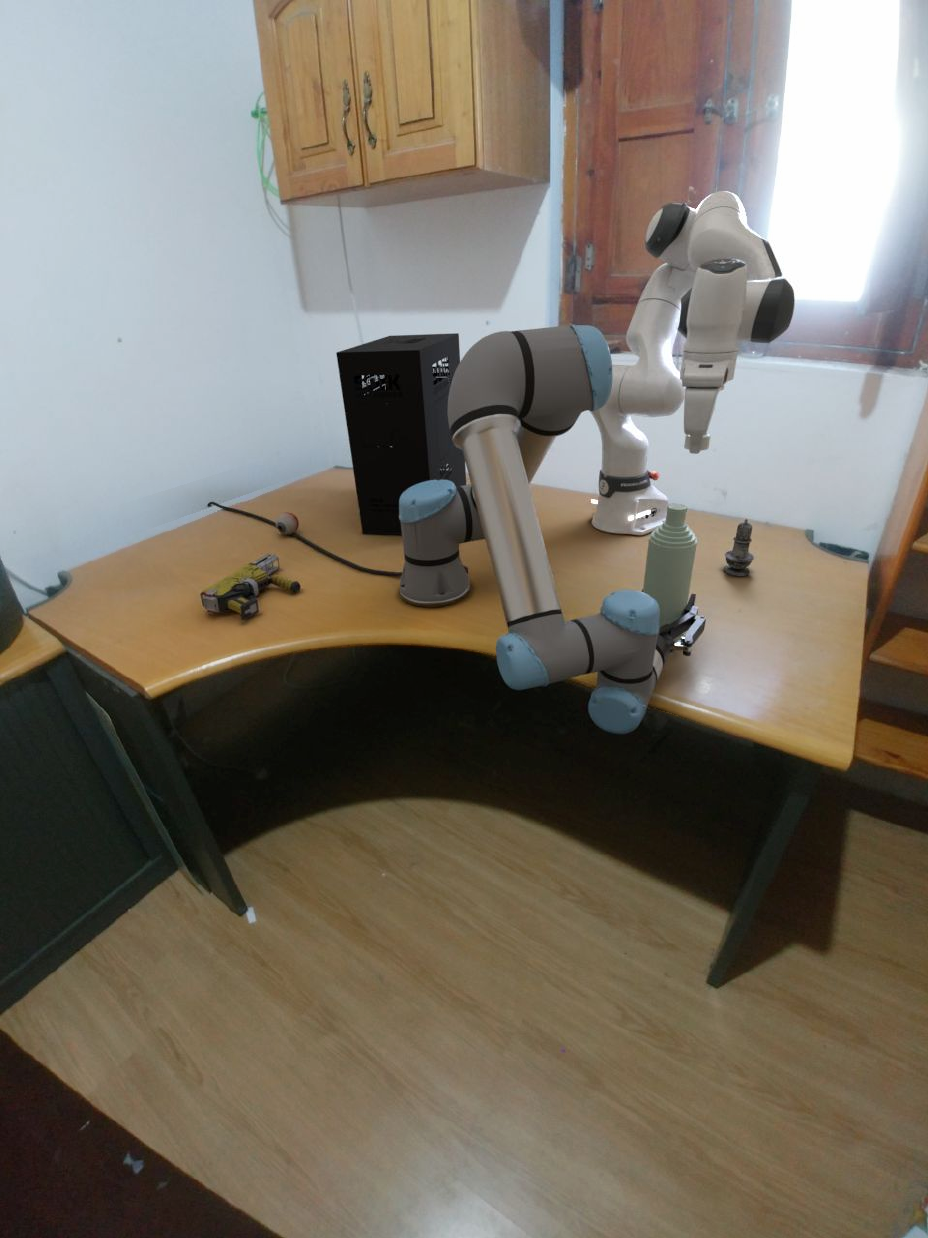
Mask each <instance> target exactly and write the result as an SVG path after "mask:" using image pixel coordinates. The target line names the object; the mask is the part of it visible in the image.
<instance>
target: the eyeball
mask: <svg viewBox="0 0 928 1238" xmlns="http://www.w3.org/2000/svg"><path fill="white" fill-rule="evenodd" d="M275 523H276V526H275V527H276V529H277V530H278V531H279V532H280V533H281V534H282V535H285V536H286V535H287V536H289V535H292V533H294V532H295V533H296V532H297V531H298V529H299V525H300V522H299V519H298V517H297V516H296V515H295V514H294V513H292V512H287V511H286V512H282V513H280V514H279V515H278V516H277V517H276V520H275Z"/></svg>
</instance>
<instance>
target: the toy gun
mask: <svg viewBox="0 0 928 1238" xmlns="http://www.w3.org/2000/svg"><path fill="white" fill-rule="evenodd" d="M275 562H277V564H278V565H277V566H276V565H274V563H275ZM280 568H281V567H280V558H279V556H278V555H277V554H272V553H270V552H269V553H267V554H265V555H263V556H261V557H260V558H258V559H257V560H255V561H253V562H250V563H248V564H246V565H244V566H243V567H240V568H239V569H238V570H236V571H234V572H233V573H231V574H229V575H228V576H226V577H223V579H221V580H218V581H217V582H216V583H214V584H212V585H210V586H209V587H207V588H205V589H204V590H202V591H201V592H200V594H199V595H200V599H201V604H202V607H203V608H204V610H206V612H207V613H211V614H212V615H213V614H214V615H215V614H216V613H220V614H222V613H228V612H231V611H234V612H237V613H239V614H240V615H241V620H243V621H245V620H247V619H249V618H251V617H252V616H254V615H257V614H259V612H260V609H259V602H258V599H257V597H258V596H259V594H260V592H259V591H261V590H263V589H265V588H267V587H269V586H270V585H274V586H277V587H278V588H282V589H285V590H286V591H290V592H292V593H294V594H295V593H298V592H299V591H300V590H301V584H300V582H299V581H297V580H292V579H288V578H287V577H284V576H280V575H279V574H274V573H275V572H276V571H277V570H279V569H280ZM271 574H274V575H273V576H271V577H270V576H269V575H271Z"/></svg>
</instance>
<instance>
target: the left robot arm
mask: <svg viewBox="0 0 928 1238" xmlns="http://www.w3.org/2000/svg"><path fill="white" fill-rule="evenodd" d="M612 365H613V361H612V355H611V350H610V348H609V344H608V342H607V340H606V338H605V336H604V334H603V333H602V332H601V331H600V330H599V329H598V328H597V327H595V326H593V325H589V324H585V325H583V324H581V325H579V324H576V325H575V324H573V323H572V324H568V325H559V326H550V327H549V326H548V327H539V328H530V329H521V330H520V329H519V330H512V331H511V330H502V331H501V330H500V331H496V332H492V333H491V334H488V335H485V336H483V337H482V338H480V339H479V340H478V341H476V342H475V343H474V344H473V345H472V346H471V347H469V349H468V350H467V351H466V352H465V354H464V355H463V357H462V358H461V359H460V363H459V365H458V367H457V369H456V371H455V374H454V376H453V379H452V383H451V386H450V391H449V397H448V422H449V428H450V432H451V436H452V441H453V444H454V445H455V446H456V447H457V448H459V449H461V450H463V454H464V458H465V467H466V469H467V474H468V477H469V483H470V484H466V485H463V486H458V487H456V486H455V484H454V483H453V482H452V481H449V480H443V479H441V480H438V481H437V480H430V481H425V482H422V483H418V484H416V485H414V486H411V487H410V488H408V489H407V490H406V491H404V492H403V493H402V495H401V497H400V499H399V519H400V521H401V530H402V535H401V538H402V547H403V556H404V562H403V566H402V567H403V568H402V571H387V570H380V569H374V568H368V567H364V566H361V565H359V564H357V563H355V562H352V561H349V560H348V559H345V558H342V557H340V556H338V555H336V554H334V553H332V552H330V551H328V550H327V549H325V548H322V547H320V545H319V546H318V545H317V544H316V543H314V542H312V541H311V540H308V539H307V538H305V537H304V536H302V535H301V534H298V533H296V532H294V533H292V534H291V536H293V537H296V538H298V539H299V540H301V541H302V542H304V543H306V544H307V545H309V546H311V547H313V548H314V549H315V550H317V551H319V552H321V553H323V554H324V555H327V556H328V557H331V558H333V559H335V560H337V561H339V562H341V563H344V564H346V565H348V566H350V567H352V568H355V569H357V570H359V571H362V572H366V573H371V574H375V575H376V574H378V575H384V576H386V575H387V576H393V577H395V576H396V577H400V579H399V580H400V581H399V587H398V588H399V589H398V590H399V596H400V598H401V600H403V601H404V602H405V603H407V604H409V605H412V606H415V607H419V608H441V607H446V606H450V605H454V604H457V603H458V602H460V601H462V600H463V599H465V598H466V597H467V596H468V595H469V593H470V591H471V585H470V583H471V582H470V579H469V576H468V575H469V567H467V566H466V565H464V563H463V561H462V559H461V556H460V545H461V544H466V543H471V542H477V541H482V540H483V541H484V540H485V545H486V548H487V552H488V557H489V560H490V564H491V567H492V572H493V575H494V579H495V583H496V588H497V591H498V596H499V599H500V604H501V607H502V610H503V611H502V612H503V615H504V619H505V622H506V623H505V624H506V627H507V632H506V634H503V635H500V636H499V637H498V639H497V640H496V643H495V654H496V663H497V666H498V670H499V674H500V677H501V678H502V679H503V681H504V683H505V684H506V685H507V686H508V687H509V688H510V689H512V690H516V691H522V690H528V689H532V688H533V689H534V688H537V687H547V686H548V685H550V684H554V683H557V682H562V681H565V680H568V679H573V678H576V677H580V676H584V675H589V674H594V673H597V677H596V685H595V688H594V689H593V690H592V692H591V693H590V699H589V701H588V704H587V705H588V706H587V709H588V710H587V711H588V714H589V717H590V718H591V720H592V722H593V723H594V724H595V725H596V726H597V727H598V728H599V729H601V730H603V731H605V732H607V733H610V734H615V735H627V734H630V733H632V732H634V731H635V730H636V729H637V728H638V727H639V725H640V724H641V723H642V720H643V719H644V717H645V716H646V715H647V709H648V706H649V703H650V700H651V698H652V695H653V693H654V690H655V688H656V685H657V683H658V680H659V678H660V676H661V674H662V671H663V669H664V667H665V664H666V662H667V660H668V657H669V655H670V654H672V653H673V652H674V651H680V652H682V655H683V656H686V657H689V656H691V653H692V648H693V646H694V645H695V643H696V642H697V641H698V639H699V638H700V637H701V635H702V634H703V632H704V631H705V628H706V622H707V621H706V620H707V616H706V615H698V614H699V606H696V605H695V602H696V597H697V594H696V593H691V594H690V595H689V598H688V602H687V606H686V608H685V613H684V616H682V617H680V618H679V619H677V620H676V621H674V622H672V623H671V624H665V625H663V626H662V627H659V622H660V608H659V605H658V603H657V601H656V600H655V599H654V598H651V596H650V595H648V594H646V593H643V588H642V589H641V591H639V590H635V589H620V590H614V591H613V592H611V593H610V594H608V595H606V596H605V597H604V598H603V600H602V604H601V606H600V613H596V614H592V615H588V616H583V617H579V618H575V619H570V620H565V617H564V614H563V610H562V606H561V603H560V599H559V595H558V592H557V591H558V590H557V588H556V584H555V579H554V575H553V572H552V567H551V564H550V560H549V557H548V553H547V549H546V545H545V541H544V538H543V534H542V529H541V525H540V522H539V518H538V515H537V510H536V506H535V503H534V499H533V494H532V492H531V491H532V490H531V488H530V485H531V482H532V481H533V479H534V477H535V475H536V473H537V472H538V471H539V468H540V467H541V464H542V463H543V462H544V460H545V458H546V456H547V454H548V452H549V450H550V449H551V447H552V445H553V443H554V442H555V439H556V438H557V437H558V436H562V435H564V434H566V433H568V432H569V431H570V430H571V429H572V428H573V427H574V425H575V424H576V422H577V421H578V420H579V418H580V416H581V414H582V413H583V412H587V411H589V410H590V411H595V410H596V409H600V408H602V407H603V406H604V405H605V404H606V403H607V401H608V399H609V396H610V393H611V388H612V380H613V374H612ZM590 411H589V412H590ZM212 505H213V506H215V507H217V508H220V509H223V510H227V511H231V512H234V513H239V514H241V515H246V516H249V517H252V518H255V519H258V520H261V521H264V522H265V523H269V524H271V525H273V526H275V527H276V521H273V520H271V519H268V518H266V517H263V516H261V515H257V514H255V513H253V512H252V513H251V512H248V511H245V510H242V509H238V508H234V507H229V506H225V505H221V504H219V503H217V502H215V501H209V502H208V503H207V505H206V506H207V507H211V506H212ZM681 634H682V635H683V634H684V636H682V637H681V640H679V641H678V642H674V640H673V639H675V638H676V637H678V636H680V635H681Z"/></svg>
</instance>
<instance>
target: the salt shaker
mask: <svg viewBox="0 0 928 1238" xmlns="http://www.w3.org/2000/svg"><path fill="white" fill-rule="evenodd" d="M735 532H736V533H735V536H734V537H733V539H732V540H733V541H734V542H733V547H732V549H731V550H728V551H726V552H725V553H724V558H725V562H726V564H727V565H726V566H724V567H723V572H724V573H726V574H728V575H730V576H734V577H735V576H736V577H745V576H748V575H749V574H750V572H751V571H750V570H749V568H748V567H749V566H751V564H752V562H753V561H754V560H755V556H754V554H752V553H750V551H749V550H750V549H749V548H750V543H752V541H753V540H752V532H753V525H752V524H751V523H749V520H748V519H747V518H745V519H744V521H743V522H740V523H738V524H737V527H736V531H735Z"/></svg>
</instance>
